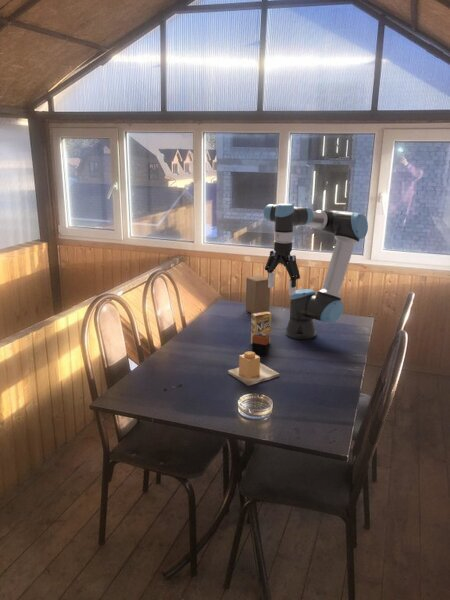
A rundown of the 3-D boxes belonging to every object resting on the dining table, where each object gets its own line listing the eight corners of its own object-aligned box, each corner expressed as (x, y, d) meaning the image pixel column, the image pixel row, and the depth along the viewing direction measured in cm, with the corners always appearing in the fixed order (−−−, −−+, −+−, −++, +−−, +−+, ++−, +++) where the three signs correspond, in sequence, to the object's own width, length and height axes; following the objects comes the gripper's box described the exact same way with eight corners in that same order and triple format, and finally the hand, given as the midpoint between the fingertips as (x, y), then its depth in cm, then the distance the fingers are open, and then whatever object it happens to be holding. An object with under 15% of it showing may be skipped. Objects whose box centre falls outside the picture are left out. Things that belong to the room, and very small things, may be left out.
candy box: (254, 346, 236) (255, 315, 231) (250, 343, 239) (251, 313, 235) (270, 343, 239) (271, 313, 235) (266, 340, 243) (267, 310, 239)
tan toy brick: (250, 370, 207) (251, 349, 205) (259, 375, 202) (260, 354, 200) (238, 373, 204) (239, 352, 201) (247, 378, 199) (248, 357, 197)
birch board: (258, 364, 216) (258, 350, 214) (279, 376, 205) (279, 361, 203) (228, 373, 207) (228, 358, 205) (248, 385, 196) (248, 370, 194)
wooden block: (269, 312, 285) (270, 278, 279) (254, 315, 280) (255, 281, 274) (259, 308, 293) (260, 275, 287) (245, 310, 288) (246, 277, 283)
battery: (265, 356, 224) (266, 336, 221) (251, 354, 227) (252, 333, 224) (268, 353, 228) (269, 333, 225) (255, 350, 230) (255, 330, 228)
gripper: (257, 238, 214) (256, 285, 220) (296, 247, 194) (294, 299, 201) (271, 236, 218) (269, 283, 224) (310, 245, 199) (307, 296, 205)
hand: (281, 290), depth 213 cm, fingers open, 13 cm apart
